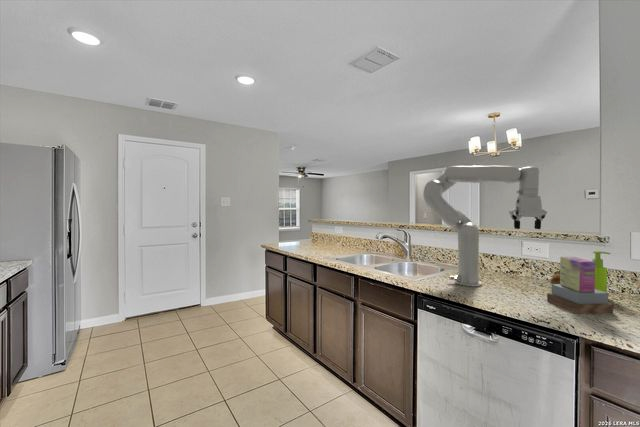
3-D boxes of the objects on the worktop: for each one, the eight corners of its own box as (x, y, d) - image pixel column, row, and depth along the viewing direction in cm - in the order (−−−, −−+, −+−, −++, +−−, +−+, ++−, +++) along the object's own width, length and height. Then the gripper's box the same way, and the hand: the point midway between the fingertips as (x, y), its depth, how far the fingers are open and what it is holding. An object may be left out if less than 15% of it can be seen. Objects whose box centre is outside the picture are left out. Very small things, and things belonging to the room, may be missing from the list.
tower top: (578, 304, 111) (578, 293, 111) (551, 293, 124) (551, 284, 124) (608, 303, 111) (608, 293, 111) (577, 293, 124) (578, 283, 124)
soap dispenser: (612, 300, 124) (612, 253, 124) (590, 297, 128) (590, 252, 128) (607, 296, 129) (608, 251, 129) (586, 294, 133) (587, 250, 133)
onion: (545, 286, 147) (546, 270, 146) (555, 284, 150) (555, 268, 149) (563, 290, 140) (563, 273, 139) (573, 288, 143) (573, 271, 143)
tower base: (578, 315, 110) (578, 305, 110) (547, 302, 125) (547, 293, 125) (613, 315, 110) (613, 304, 110) (577, 301, 125) (577, 292, 125)
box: (595, 292, 111) (595, 261, 111) (579, 292, 112) (579, 261, 112) (574, 284, 122) (574, 256, 121) (559, 284, 122) (559, 256, 122)
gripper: (515, 192, 137) (514, 229, 137) (552, 193, 136) (551, 229, 137) (505, 193, 144) (504, 228, 145) (541, 193, 144) (539, 228, 145)
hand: (527, 228), depth 141 cm, fingers open, 9 cm apart
